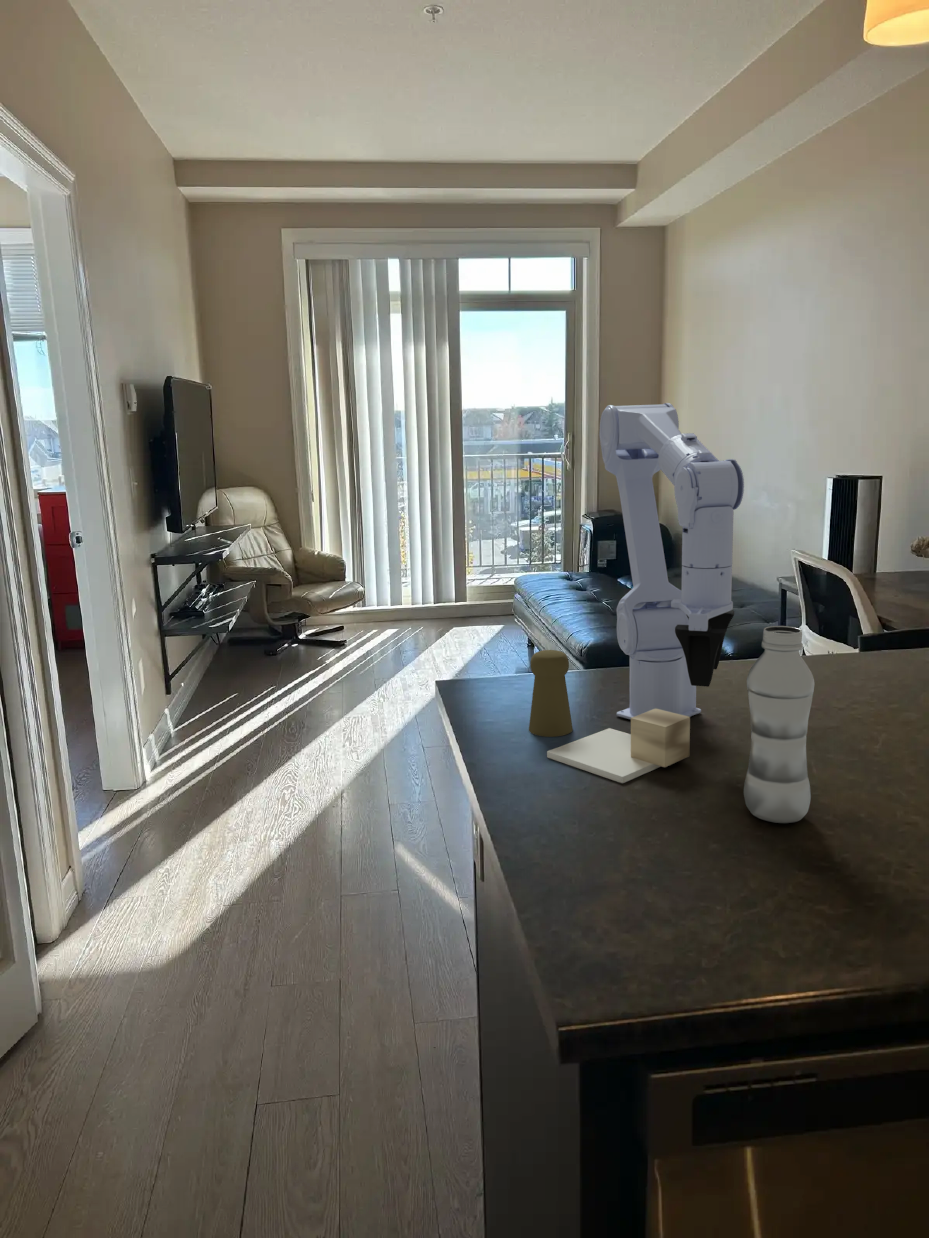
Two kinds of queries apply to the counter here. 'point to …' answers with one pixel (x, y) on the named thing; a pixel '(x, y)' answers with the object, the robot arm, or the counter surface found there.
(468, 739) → the counter surface
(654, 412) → the robot arm
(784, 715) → the plastic bottle
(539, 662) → the cork
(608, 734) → the plate
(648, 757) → the cube
